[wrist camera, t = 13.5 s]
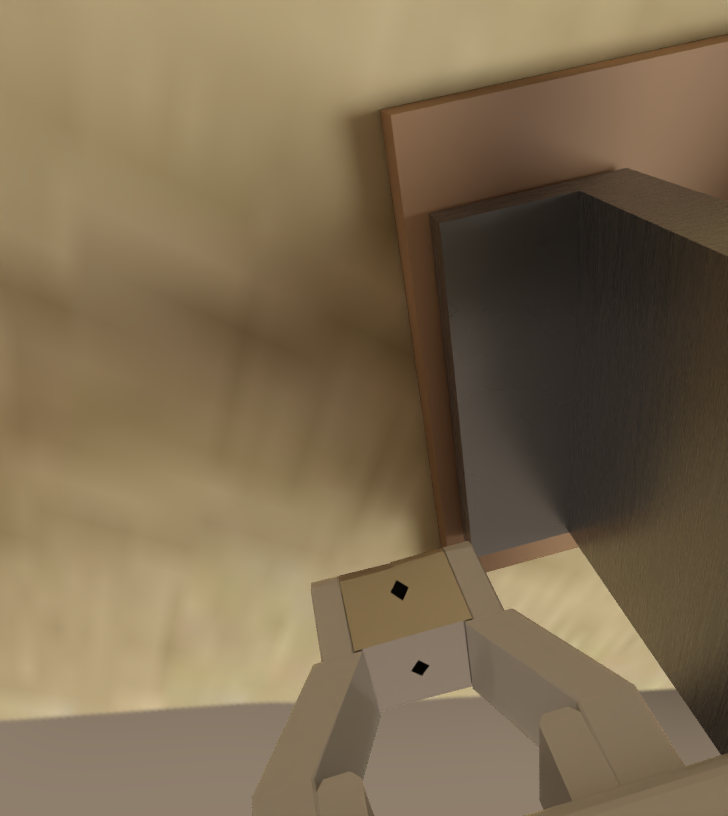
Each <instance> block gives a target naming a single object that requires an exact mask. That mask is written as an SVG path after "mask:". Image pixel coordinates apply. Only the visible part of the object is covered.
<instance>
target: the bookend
mask: <svg viewBox="0 0 728 816" xmlns="http://www.w3.org/2000/svg"><path fill="white" fill-rule="evenodd" d="M429 220H430V229H431V239H432V248H433V257H434V266H435V275H436V285H437V294H438V303H439V312H440V322H441V331H442V340H443V349H444V359H445V368H446V377H447V386H448V395H449V405H450V414H451V423H452V432H453V442H454V451H455V460H456V469H457V479H458V488H459V497H460V506H461V515H462V525H463V534H464V540H465V541H469V542H470V543H471V544H472V546H473V548H474V550H475V552H476V554H477V556H478V557H481V556H484V555H488V554H492V553H495V552H499V551H503V550H506V549H510V548H514V547H517V546H521V545H525V544H528V543H532V542H536V541H539V540H543V539H547V538H550V537H554V536H558V535H561V534H565V533H570V534H571V536H572V537H573V539H574V540H575V542H576V543H577V545H578V546H579V548H580V549H581V551H582V552H583V553H584V555H585V556H586V558H587V559H588V561H589V562H590V564H591V565H592V567H593V568H594V570H595V571H596V572H597V574H598V575H599V577H600V578H601V580H602V581H603V583H604V584H605V586H606V587H607V589H608V590H609V592H610V593H611V594H612V596H613V597H614V599H615V600H616V602H617V603H618V605H619V606H620V608H621V609H622V611H623V612H624V613H625V615H626V616H627V618H628V619H629V621H630V622H631V624H632V625H633V627H634V628H635V630H636V631H637V633H638V634H639V635H640V637H641V638H642V640H643V641H644V643H645V644H646V646H647V647H648V649H649V650H650V652H651V653H652V655H653V656H654V657H655V659H656V660H657V662H658V663H659V665H660V666H661V668H662V669H663V671H664V672H665V674H666V675H667V676H668V678H669V679H670V681H671V682H672V684H673V685H674V687H675V688H676V690H677V691H678V693H679V694H680V695H681V697H682V698H683V700H684V701H685V703H686V704H687V706H688V707H689V709H690V710H691V712H692V713H693V715H694V716H695V717H696V719H697V720H698V722H699V723H700V725H701V726H702V728H703V729H704V731H705V732H706V734H707V735H708V737H709V738H710V739H711V741H712V742H713V744H714V745H715V747H716V748H717V750H718V751H719V753H720V754H721V755H723V754H726V753H728V201H725V200H722V199H719V198H716V197H713V196H710V195H707V194H704V193H701V192H698V191H695V190H692V189H689V188H686V187H683V186H680V185H677V184H674V183H671V182H668V181H665V180H662V179H659V178H656V177H653V176H650V175H647V174H644V173H641V172H638V171H635V170H632V169H629V168H623V169H619V170H614V171H610V172H606V173H601V174H597V175H593V176H588V177H584V178H580V179H575V180H571V181H567V182H562V183H558V184H554V185H549V186H545V187H541V188H536V189H532V190H528V191H523V192H519V193H515V194H510V195H506V196H502V197H497V198H493V199H489V200H484V201H480V202H476V203H471V204H467V205H463V206H458V207H454V208H450V209H445V210H441V211H437V212H432V213H429Z"/></svg>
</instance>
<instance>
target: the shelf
mask: <svg viewBox="0 0 728 816" xmlns="http://www.w3.org/2000/svg"><path fill="white" fill-rule="evenodd" d="M380 114H381V121H382V128H383V135H384V142H385V149H386V156H387V164H388V171H389V178H390V185H391V192H392V199H393V206H394V214H395V221H396V228H397V235H398V242H399V249H400V256H401V264H402V271H403V278H404V285H405V292H406V299H407V306H408V313H409V321H410V328H411V335H412V342H413V349H414V356H415V363H416V371H417V378H418V385H419V392H420V399H421V406H422V413H423V420H424V428H425V435H426V442H427V449H428V456H429V463H430V470H431V478H432V485H433V492H434V499H435V506H436V513H437V520H438V528H439V535H440V542H441V549H442V548H443V547H447V546H451V545H454V544H458V543H461V542H465V540H464V534H463V525H462V515H461V506H460V497H459V488H458V479H457V469H456V460H455V451H454V442H453V432H452V423H451V414H450V405H449V395H448V386H447V377H446V368H445V359H444V349H443V340H442V331H441V322H440V312H439V303H438V294H437V285H436V275H435V266H434V257H433V248H432V239H431V229H430V220H429V213H432V212H437V211H441V210H445V209H450V208H454V207H458V206H463V205H467V204H471V203H476V202H480V201H484V200H489V199H493V198H497V197H502V196H506V195H510V194H515V193H519V192H523V191H528V190H532V189H536V188H541V187H545V186H549V185H554V184H558V183H562V182H567V181H571V180H575V179H580V178H584V177H588V176H593V175H597V174H601V173H606V172H610V171H614V170H619V169H623V168H629V169H632V170H635V171H638V172H641V173H644V174H647V175H650V176H653V177H656V178H659V179H662V180H665V181H668V182H671V183H674V184H677V185H680V186H683V187H686V188H689V189H692V190H695V191H698V192H701V193H704V194H707V195H710V196H713V197H716V198H719V199H722V200H725V201H728V34H727V35H722V36H718V37H713V38H708V39H704V40H699V41H695V42H690V43H685V44H681V45H676V46H672V47H667V48H662V49H658V50H653V51H649V52H644V53H639V54H635V55H630V56H626V57H621V58H616V59H612V60H607V61H603V62H598V63H593V64H589V65H584V66H580V67H575V68H571V69H566V70H561V71H557V72H552V73H548V74H543V75H538V76H534V77H529V78H525V79H520V80H515V81H511V82H506V83H502V84H497V85H492V86H488V87H483V88H479V89H474V90H469V91H465V92H460V93H456V94H451V95H446V96H442V97H437V98H433V99H428V100H423V101H419V102H414V103H410V104H405V105H400V106H396V107H391V108H387V109H382V110H380ZM577 547H579V546H578V545H577V543H576V542H575V540H574V539H573V537H572V536H571V534H570V533H565V534H561V535H558V536H554V537H550V538H547V539H543V540H539V541H536V542H532V543H528V544H525V545H521V546H517V547H514V548H510V549H506V550H503V551H499V552H495V553H492V554H488V555H484V556H481V557H478V558H479V560H480V562H481V564H482V566H483V568H484V570H485V572H489V571H493V570H496V569H500V568H504V567H507V566H511V565H515V564H518V563H522V562H526V561H529V560H533V559H537V558H540V557H544V556H547V555H551V554H555V553H558V552H562V551H566V550H569V549H573V548H577Z"/></svg>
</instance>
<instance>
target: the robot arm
mask: <svg viewBox="0 0 728 816" xmlns="http://www.w3.org/2000/svg"><path fill="white" fill-rule="evenodd" d="M311 595H312V602H313V609H314V615H315V622H316V628H317V635H318V642H319V648H320V655H321V662H320V663H317V664H314V665H313V667H312V669H311V671H310V673H309V675H308V678H307V680H306V682H305V684H304V686H303V688H302V691H301V693H300V695H299V697H298V699H297V701H296V703H295V706H294V708H293V710H292V712H291V714H290V716H289V719H288V721H287V723H286V726H285V727H284V729H283V731H282V734H281V736H280V738H279V740H278V742H277V745H276V747H275V749H274V751H273V753H272V755H271V757H270V759H269V762H268V764H267V766H266V768H265V770H264V772H263V775H262V777H261V779H260V781H259V783H258V785H257V787H256V790H255V792H254V794H253V796H252V816H374V814H373V811H372V808H371V805H370V802H369V799H368V797H367V793H366V791H365V788H364V785H363V778H364V775H365V771H366V768H367V764H368V761H369V757H370V754H371V750H372V747H373V743H374V740H375V736H376V733H377V729H378V725H379V722H380V718H381V714H380V713H382V712H384V711H388V710H391V709H394V708H397V707H400V706H403V705H406V704H410V703H412V702H416V701H419V700H422V699H425V698H429V697H433V696H437V695H440V694H444V693H448V692H452V691H456V690H460V689H463V688H467V687H471V686H473V689H474V690H475V691H476V692H477V693H478V694H480V695H481V696H482V697H483V698H484V699H485V700H486V701H488V702H489V703H490V704H491V705H492V706H493V707H494V708H495V709H497V710H498V711H499V712H500V713H501V714H502V715H503V716H505V718H507V719H508V720H509V721H510V722H511V723H512V724H513V725H514V726H516V727H517V728H518V729H519V730H520V731H521V732H522V733H523V734H525V735H526V736H527V737H528V738H529V739H530V740H531V741H532V742H533V743H535V744H536V745H537V746H538V747H539V781H540V782H539V789H540V790H539V796H540V797H539V798H540V799H539V800H540V802H541V805H542V807H543V810H542V811H538V812H535V813H532V814H528V815H525V816H728V753H726V754H723V755H720V756H716V757H713V758H710V759H707V760H704V761H700V762H697V763H694V764H691V765H687V766H685V765H684V763H683V761H682V760H681V758H680V757H679V755H678V753H677V752H676V750H675V749H674V747H673V746H672V744H671V742H670V741H669V739H668V738H667V736H666V734H665V733H664V731H663V730H662V728H661V726H660V725H659V723H658V722H657V720H656V719H655V717H654V715H653V714H652V712H651V711H650V709H649V707H648V706H647V704H646V703H645V701H644V700H643V698H642V696H641V695H640V693H639V692H638V690H637V688H636V687H635V685H634V684H632V683H630V682H629V681H627V680H626V679H624V678H622V677H621V676H619V675H618V674H616V673H614V672H613V671H611V670H610V669H608V668H606V667H605V666H603V665H602V664H600V663H598V662H597V661H595V660H594V659H592V658H590V657H589V656H587V655H586V654H584V653H582V652H581V651H579V650H578V649H576V648H574V647H573V646H571V645H570V644H568V643H566V642H565V641H563V640H562V639H560V638H558V637H557V636H555V635H554V634H552V633H551V632H549V631H547V630H546V629H544V628H543V627H541V626H539V625H538V624H536V623H535V622H533V621H531V620H530V619H528V618H527V617H525V616H523V615H522V614H520V613H519V612H517V611H515V610H514V609H508V610H504V609H503V607H502V605H501V603H500V601H499V599H498V597H497V595H496V593H495V591H494V588H493V586H492V584H491V582H490V580H489V578H488V576H487V574H486V572H485V570H484V568H483V566H482V564H481V562H480V560H479V558H478V556H477V554H476V552H475V550H474V548H473V546H472V544H471V543H470V542H469V541H465V542H461V543H458V544H454V545H451V546H447V547H443V548H442V549H441V548H439V549H435V550H432V551H428V552H425V553H421V554H418V555H414V556H411V557H407V558H404V559H400V560H397V561H393V562H390V563H389V564H385V565H381V566H376V567H372V568H368V569H364V570H360V571H356V572H352V573H348V574H344V575H340V576H339V577H338V576H337V577H333V578H329V579H325V580H321V581H317V582H313V583H311Z"/></svg>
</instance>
